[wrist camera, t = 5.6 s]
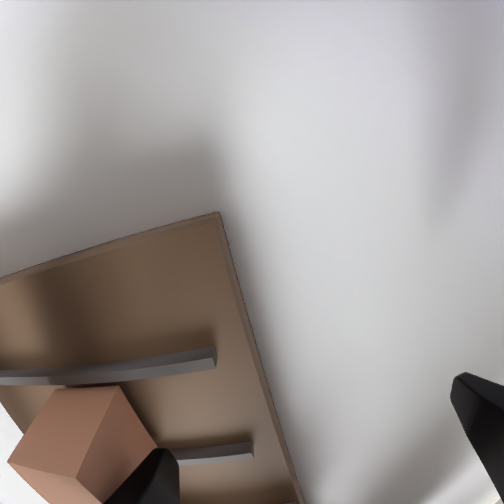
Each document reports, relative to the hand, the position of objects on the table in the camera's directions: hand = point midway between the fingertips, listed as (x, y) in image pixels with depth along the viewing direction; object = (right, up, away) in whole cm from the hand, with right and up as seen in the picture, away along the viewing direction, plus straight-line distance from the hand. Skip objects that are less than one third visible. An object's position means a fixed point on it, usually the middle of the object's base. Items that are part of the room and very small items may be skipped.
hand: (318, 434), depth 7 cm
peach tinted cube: (-7, -1, +2) cm, 8 cm away
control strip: (-6, -8, +6) cm, 12 cm away
